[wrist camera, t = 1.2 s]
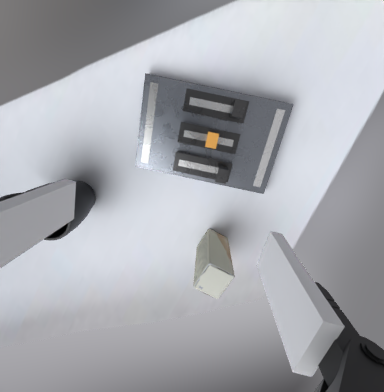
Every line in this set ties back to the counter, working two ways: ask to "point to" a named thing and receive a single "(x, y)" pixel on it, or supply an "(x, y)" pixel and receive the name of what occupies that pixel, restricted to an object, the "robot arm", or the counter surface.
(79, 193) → the mug
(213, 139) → the breaker handle
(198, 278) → the box
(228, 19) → the counter surface
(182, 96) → the panel
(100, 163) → the counter surface
